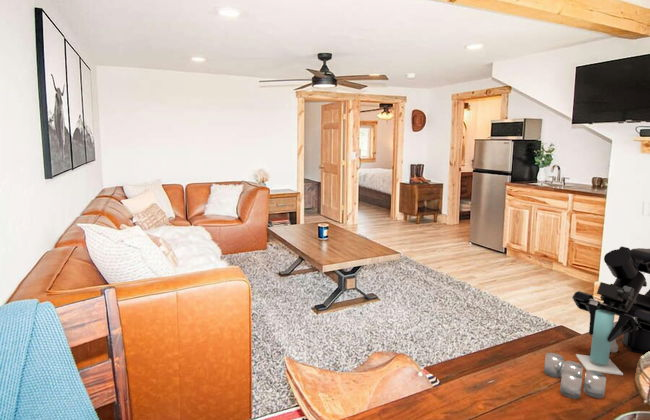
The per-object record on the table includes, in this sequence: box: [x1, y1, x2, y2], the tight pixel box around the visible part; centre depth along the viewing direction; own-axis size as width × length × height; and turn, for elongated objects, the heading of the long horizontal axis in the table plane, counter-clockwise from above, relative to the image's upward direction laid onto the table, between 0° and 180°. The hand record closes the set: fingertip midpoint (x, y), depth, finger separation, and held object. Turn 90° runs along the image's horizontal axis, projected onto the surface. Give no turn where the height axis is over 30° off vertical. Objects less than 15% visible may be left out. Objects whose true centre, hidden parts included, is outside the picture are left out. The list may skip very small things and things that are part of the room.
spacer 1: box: [543, 352, 565, 379], centre depth 101 cm, size 4×4×4 cm
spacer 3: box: [582, 370, 607, 399], centre depth 93 cm, size 4×4×4 cm
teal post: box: [589, 310, 616, 364], centre depth 105 cm, size 4×4×13 cm
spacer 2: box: [563, 360, 584, 377], centre depth 98 cm, size 4×4×4 cm
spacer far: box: [559, 371, 584, 400], centre depth 93 cm, size 4×4×4 cm
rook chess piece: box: [610, 321, 619, 354], centre depth 114 cm, size 4×4×8 cm
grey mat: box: [575, 353, 624, 376], centre depth 106 cm, size 8×8×1 cm
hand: (599, 337), depth 104 cm, fingers closed on teal post, 4 cm apart
